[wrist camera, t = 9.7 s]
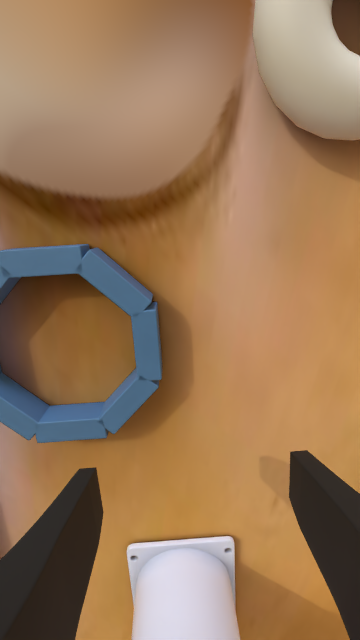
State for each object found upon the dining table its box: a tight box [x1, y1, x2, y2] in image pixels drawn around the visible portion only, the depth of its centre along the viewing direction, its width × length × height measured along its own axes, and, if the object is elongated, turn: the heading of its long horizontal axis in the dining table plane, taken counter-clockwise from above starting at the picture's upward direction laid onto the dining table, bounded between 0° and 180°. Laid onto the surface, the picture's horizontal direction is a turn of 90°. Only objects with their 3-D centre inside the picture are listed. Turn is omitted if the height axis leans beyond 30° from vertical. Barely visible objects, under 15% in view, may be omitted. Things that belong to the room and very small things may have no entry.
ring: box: [0, 244, 162, 443], centre depth 19 cm, size 11×11×2 cm
